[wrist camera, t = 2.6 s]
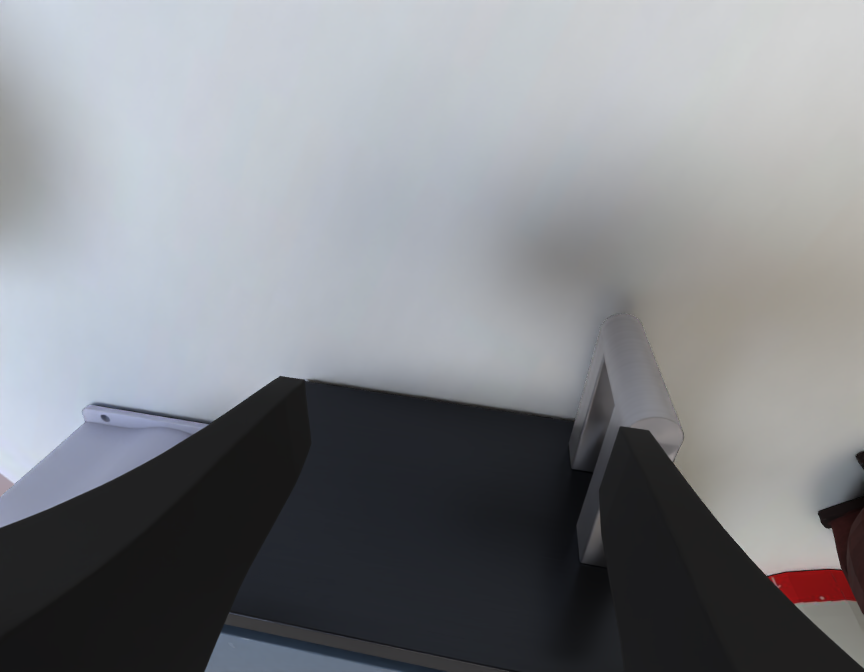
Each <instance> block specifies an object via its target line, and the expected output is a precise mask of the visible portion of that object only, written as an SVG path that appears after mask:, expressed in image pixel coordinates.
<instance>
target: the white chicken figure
mask: <svg viewBox="0 0 864 672" xmlns="http://www.w3.org/2000/svg"><path fill="white" fill-rule="evenodd" d="M768 578H769V579H770V580H771V581H772V582H773V583H774V584H775V585H776V586H777V587H778V588H779V589H780V590H781V591H782V592H783V593H784V594H785V595H786V596H787V597H788V598H789V599H790V600H791V601H792V602H793V603H794V604H795V605H796V606H797V607H798V608H799V609H800V610H801V611H802V612H803V613H804V614H805V615H806V616H807V617H808V618H809V619H810V620H811V621H812V622H813V623H814V624H815V625H816V626H817V627H818V628H820V629H821V630H822V631H823V632H824V633H825V634H826V635H827V636H828V637H829V638H831V639H832V640H833V641H834V642H835V643H836V644H837V645H838V646H839V647H840V648H842V649H843V650H844V651H845V652H846V653H847V654H848V655H849V656H850V657H852V658H853V659H854V660H855V661H856V662H857V663H858V664H859V665H860V666H862V667H863V668H864V615H863V613H862V612H861V610H860V608H859V605H858V603H857V601H856V599H855V597H854V595H853V593H852V590H851V588H850V586H849V584H848V581H847V579H846V577H845V575H844V573H843V571H840V570H816V571H801V572H786V573H782V574H778V575H773V576H769V577H768Z"/></svg>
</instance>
